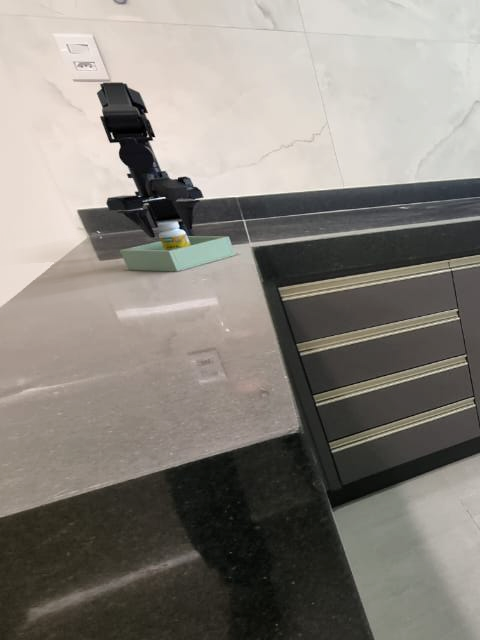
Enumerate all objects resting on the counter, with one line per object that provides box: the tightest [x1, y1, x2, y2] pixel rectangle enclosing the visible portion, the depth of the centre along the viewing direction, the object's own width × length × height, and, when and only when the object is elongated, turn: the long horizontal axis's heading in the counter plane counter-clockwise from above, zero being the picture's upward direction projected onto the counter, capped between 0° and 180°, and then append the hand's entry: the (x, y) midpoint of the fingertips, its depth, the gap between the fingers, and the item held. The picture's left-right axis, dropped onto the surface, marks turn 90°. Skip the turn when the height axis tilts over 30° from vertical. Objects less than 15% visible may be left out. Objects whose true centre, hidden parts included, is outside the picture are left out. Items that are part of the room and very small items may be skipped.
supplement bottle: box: [157, 220, 191, 250], centre depth 133 cm, size 5×5×10 cm
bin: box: [119, 235, 236, 272], centre depth 135 cm, size 16×16×5 cm
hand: (172, 233), depth 133 cm, fingers open, 9 cm apart
